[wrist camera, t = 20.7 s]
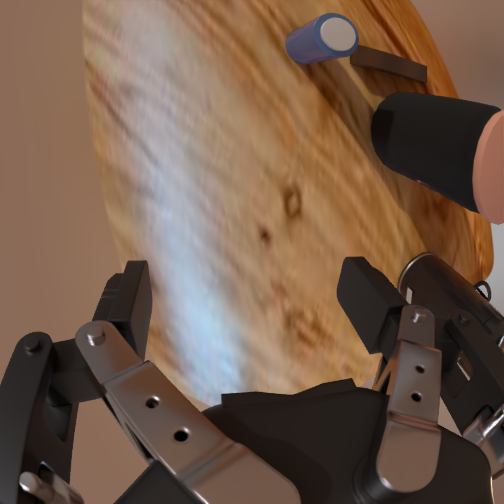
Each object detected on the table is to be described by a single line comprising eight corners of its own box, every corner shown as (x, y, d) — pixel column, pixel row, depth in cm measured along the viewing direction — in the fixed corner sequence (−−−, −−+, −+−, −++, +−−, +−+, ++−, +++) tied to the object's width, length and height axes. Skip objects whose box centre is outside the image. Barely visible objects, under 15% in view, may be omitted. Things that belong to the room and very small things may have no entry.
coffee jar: (373, 178, 36) (475, 241, 21) (358, 97, 31) (476, 117, 15) (431, 159, 37) (531, 207, 21) (422, 86, 31) (534, 106, 16)
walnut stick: (420, 66, 30) (427, 66, 28) (419, 82, 31) (426, 83, 30) (350, 45, 28) (356, 44, 26) (349, 64, 29) (355, 63, 28)
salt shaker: (323, 32, 27) (362, 18, 19) (322, 66, 29) (361, 61, 21) (285, 26, 26) (316, 7, 18) (284, 62, 28) (315, 52, 20)
